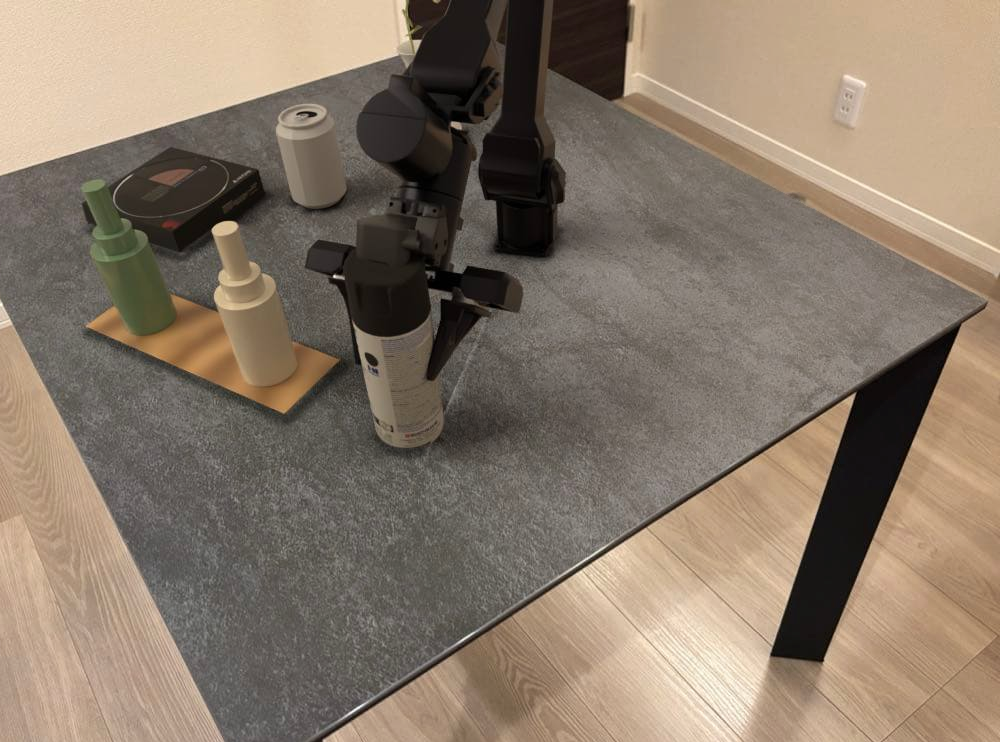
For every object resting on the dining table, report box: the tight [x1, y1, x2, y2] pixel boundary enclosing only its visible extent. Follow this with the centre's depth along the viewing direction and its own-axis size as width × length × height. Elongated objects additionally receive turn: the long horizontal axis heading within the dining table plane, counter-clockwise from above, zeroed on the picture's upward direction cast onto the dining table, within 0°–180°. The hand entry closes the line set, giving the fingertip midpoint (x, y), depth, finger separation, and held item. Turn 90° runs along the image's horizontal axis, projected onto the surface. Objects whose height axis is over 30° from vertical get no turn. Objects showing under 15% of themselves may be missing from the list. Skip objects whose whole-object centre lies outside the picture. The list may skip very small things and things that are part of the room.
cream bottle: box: [211, 220, 298, 387], centre depth 81 cm, size 6×6×17 cm
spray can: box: [343, 249, 445, 449], centre depth 73 cm, size 7×7×20 cm
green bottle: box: [80, 178, 177, 336], centre depth 88 cm, size 6×6×17 cm
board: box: [85, 293, 341, 415], centre depth 91 cm, size 30×9×1 cm, turn 58°
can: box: [275, 103, 347, 210], centre depth 108 cm, size 8×8×12 cm
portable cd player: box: [81, 146, 266, 253], centre depth 111 cm, size 16×17×4 cm
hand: (393, 372), depth 73 cm, fingers closed on spray can, 6 cm apart
